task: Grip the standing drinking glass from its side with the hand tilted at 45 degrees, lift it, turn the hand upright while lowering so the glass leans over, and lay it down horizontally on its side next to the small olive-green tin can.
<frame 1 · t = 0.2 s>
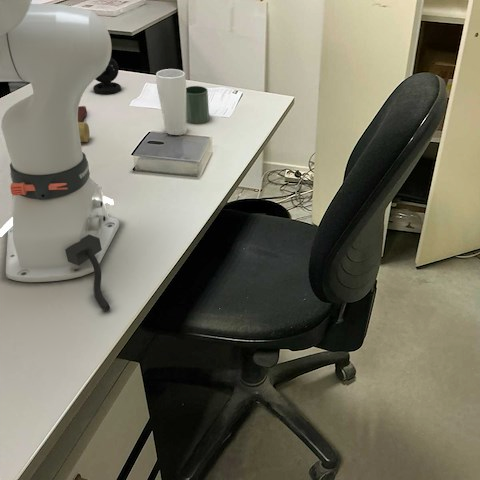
webcam: (107, 90, 160), on the table
drinking glass: (176, 133, 139), on the table
tin: (197, 119, 146), on the table
gavel: (75, 127, 138), on the table
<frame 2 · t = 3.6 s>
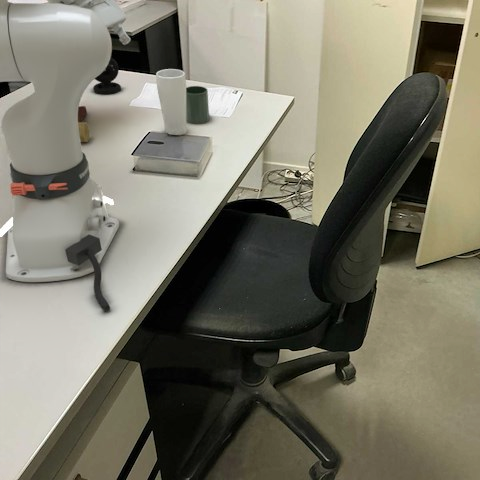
hand: (117, 47, 130), 19 cm above the table, tool tilted 45°, fingers open, 8 cm apart
nothing on the table moved.
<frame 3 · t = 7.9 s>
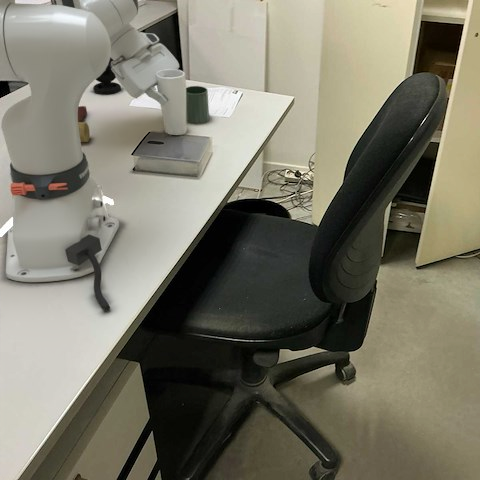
hand: (173, 97, 133), 9 cm above the table, tool tilted 45°, fingers closed on drinking glass, 6 cm apart
drinking glass: (176, 133, 139), on the table, touching gripper
everything else where it was.
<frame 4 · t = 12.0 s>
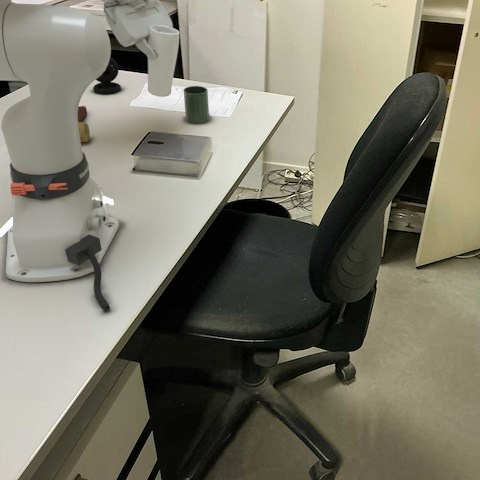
hand: (162, 55, 127), 19 cm above the table, tool tilted 35°, fingers closed on drinking glass, 6 cm apart
drinking glass: (159, 94, 132), point 10 cm above the table, touching gripper
everything else where it was.
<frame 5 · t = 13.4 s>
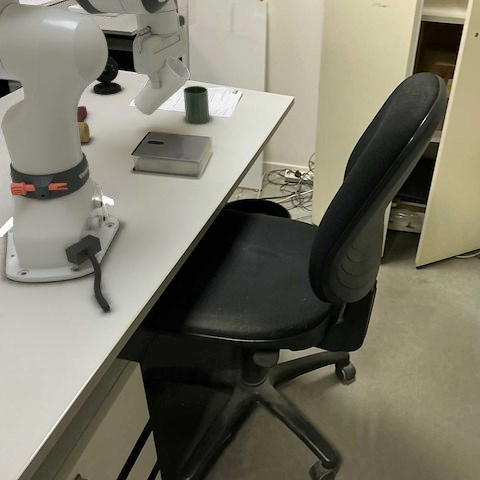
hand: (164, 83, 131), 12 cm above the table, tool pointing down, fingers closed on drinking glass, 6 cm apart
drinking glass: (142, 107, 136), point 6 cm above the table, touching gripper
everything else where it was.
when the fingers open (8 cm above the table, at t = 16.3 s): drinking glass moves 2 cm, point 3 cm above the table.
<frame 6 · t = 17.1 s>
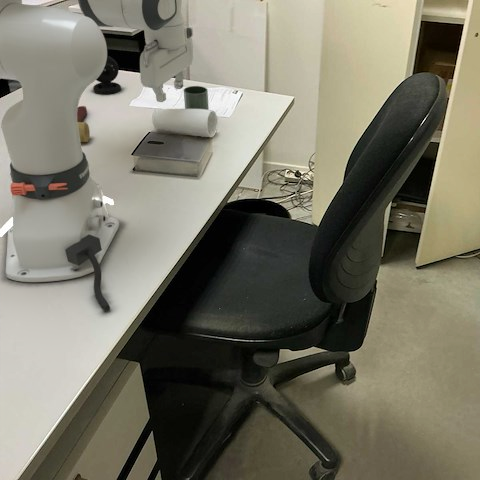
hand: (170, 94, 133), 10 cm above the table, tool pointing down, fingers open, 8 cm apart
drinking glass: (155, 118, 138), point 3 cm above the table
everything else where it was.
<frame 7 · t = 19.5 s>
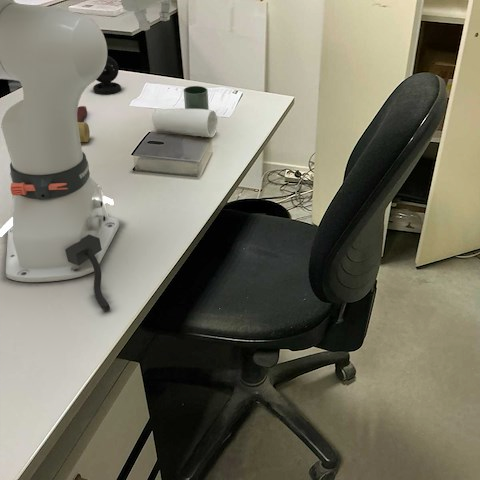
hand: (155, 24, 123), 26 cm above the table, tool pointing down, fingers open, 8 cm apart
nothing on the table moved.
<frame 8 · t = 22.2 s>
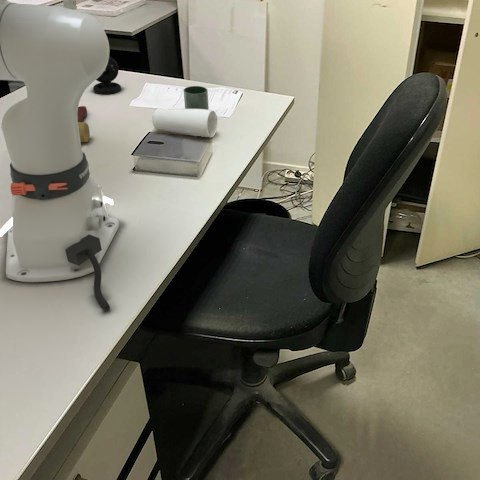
hand: (84, 5, 113), 31 cm above the table, tool pointing down, fingers open, 8 cm apart
nothing on the table moved.
at the end: drinking glass tilted 86°; drinking glass inside the target area (1.4 cm from its centre), point 2.7 cm above the table; the gripper is holding nothing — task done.
